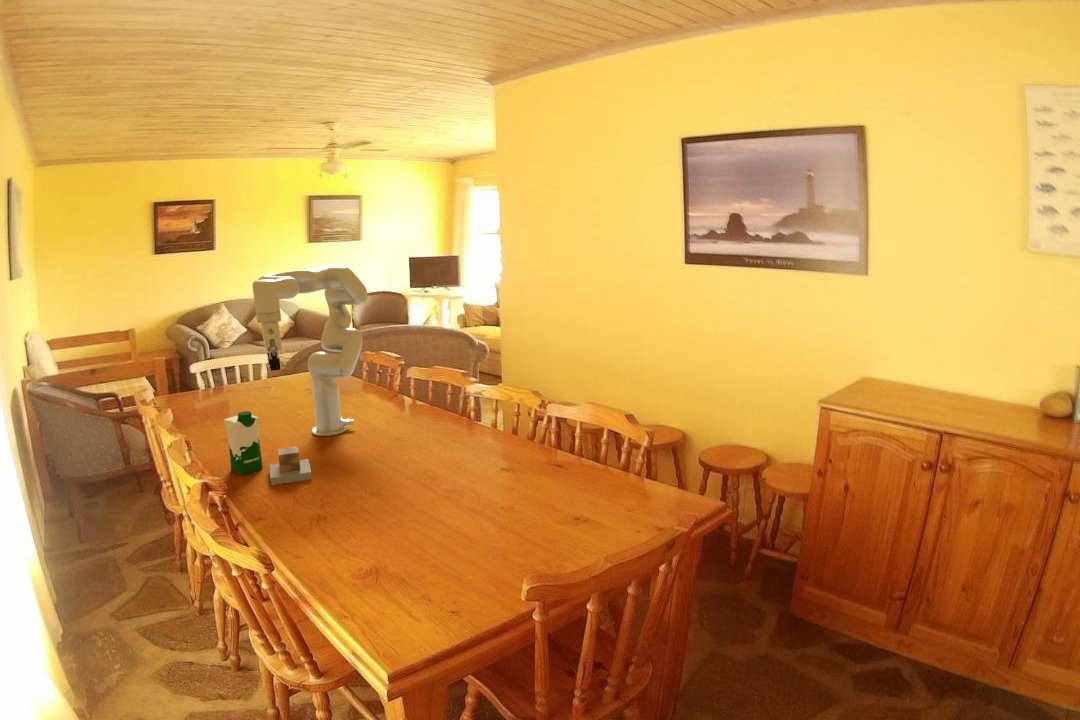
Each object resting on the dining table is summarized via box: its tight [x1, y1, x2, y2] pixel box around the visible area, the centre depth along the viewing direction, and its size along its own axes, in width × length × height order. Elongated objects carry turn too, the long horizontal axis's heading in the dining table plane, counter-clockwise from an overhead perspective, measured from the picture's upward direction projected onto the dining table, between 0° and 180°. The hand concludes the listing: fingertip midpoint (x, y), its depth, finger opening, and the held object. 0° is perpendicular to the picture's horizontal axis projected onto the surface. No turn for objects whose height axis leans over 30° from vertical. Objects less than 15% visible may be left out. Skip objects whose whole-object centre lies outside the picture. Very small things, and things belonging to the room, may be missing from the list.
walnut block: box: [277, 446, 300, 473], centre depth 204 cm, size 6×6×6 cm
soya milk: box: [223, 410, 264, 476], centre depth 208 cm, size 9×9×20 cm
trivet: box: [269, 458, 313, 486], centre depth 205 cm, size 12×12×2 cm
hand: (274, 366), depth 214 cm, fingers open, 9 cm apart
